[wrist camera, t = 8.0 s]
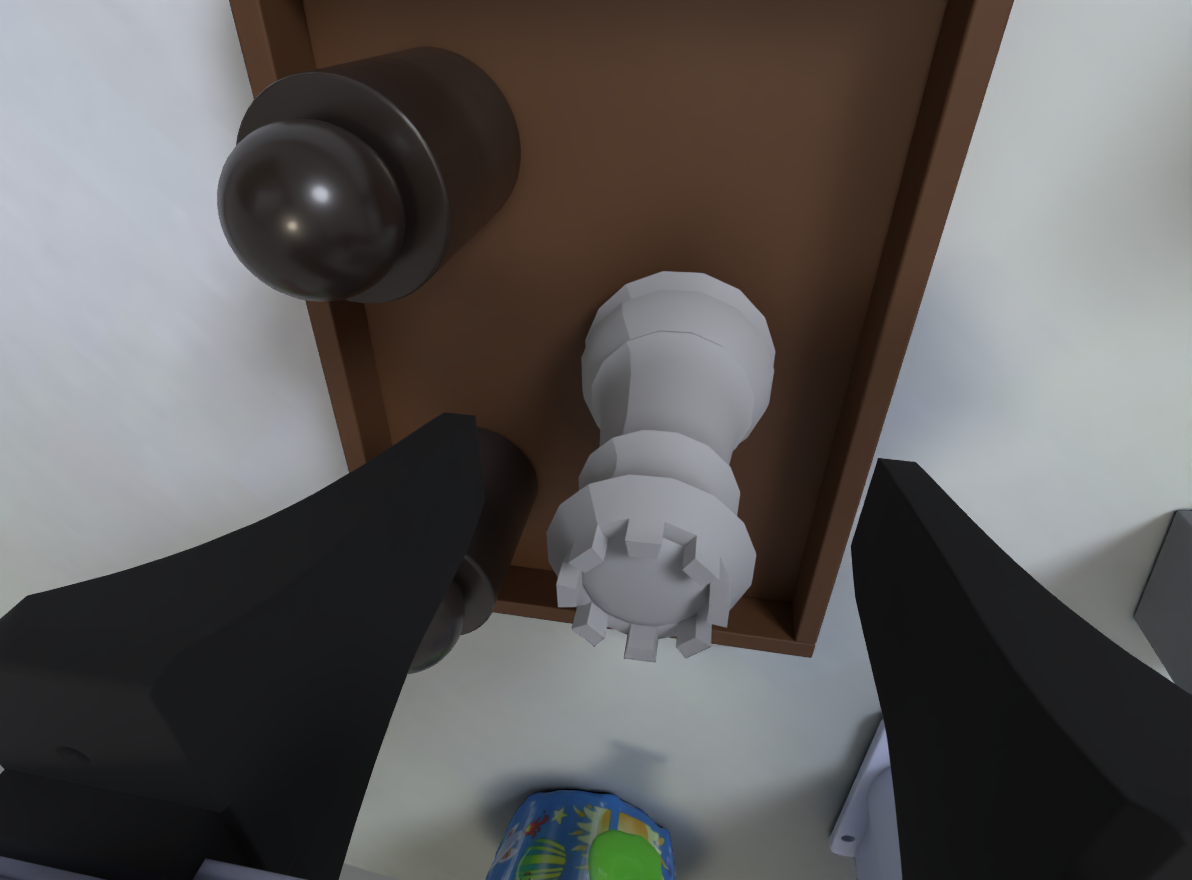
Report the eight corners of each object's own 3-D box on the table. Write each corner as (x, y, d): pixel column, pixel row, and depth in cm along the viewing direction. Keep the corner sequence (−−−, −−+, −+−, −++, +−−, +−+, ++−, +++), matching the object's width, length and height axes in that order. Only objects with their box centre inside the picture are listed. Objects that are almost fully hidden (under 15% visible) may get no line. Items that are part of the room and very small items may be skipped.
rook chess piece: (552, 321, 16) (429, 551, 10) (715, 223, 14) (700, 430, 8) (649, 454, 18) (601, 724, 11) (807, 383, 16) (857, 661, 9)
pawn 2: (540, 529, 20) (471, 723, 15) (427, 515, 21) (322, 698, 15) (535, 431, 18) (454, 616, 13) (410, 417, 19) (281, 591, 13)
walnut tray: (805, 605, 21) (811, 658, 19) (405, 552, 23) (380, 596, 21) (1005, -102, 11) (1051, -115, 9) (267, -100, 13) (199, -111, 11)
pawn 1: (525, 233, 15) (413, 371, 10) (375, 223, 16) (191, 349, 10) (516, 48, 13) (368, 98, 8) (343, 44, 13) (92, 87, 8)
